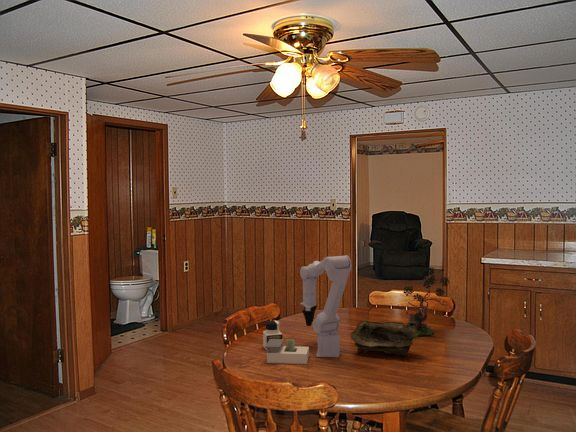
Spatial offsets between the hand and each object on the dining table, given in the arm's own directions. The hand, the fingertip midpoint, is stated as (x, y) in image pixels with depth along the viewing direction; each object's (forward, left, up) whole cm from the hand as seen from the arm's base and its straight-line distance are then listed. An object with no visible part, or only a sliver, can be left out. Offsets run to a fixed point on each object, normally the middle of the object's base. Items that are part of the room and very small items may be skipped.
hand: (309, 323), depth 226 cm
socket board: (+7, +20, -10) cm, 23 cm away
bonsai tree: (-53, -30, -10) cm, 62 cm away
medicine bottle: (+16, +5, -10) cm, 20 cm away
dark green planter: (-32, +9, -10) cm, 35 cm away
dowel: (+6, +20, -10) cm, 23 cm away
